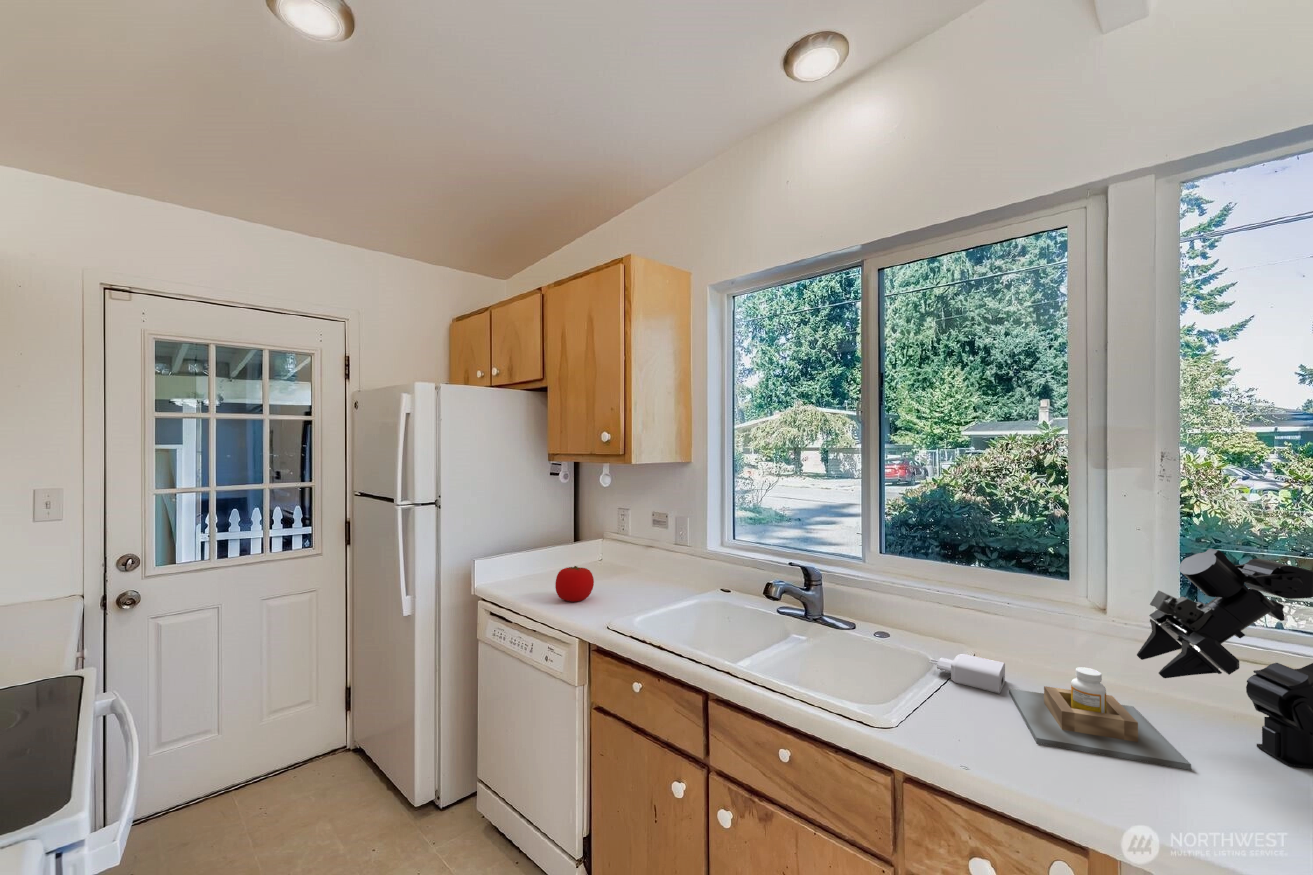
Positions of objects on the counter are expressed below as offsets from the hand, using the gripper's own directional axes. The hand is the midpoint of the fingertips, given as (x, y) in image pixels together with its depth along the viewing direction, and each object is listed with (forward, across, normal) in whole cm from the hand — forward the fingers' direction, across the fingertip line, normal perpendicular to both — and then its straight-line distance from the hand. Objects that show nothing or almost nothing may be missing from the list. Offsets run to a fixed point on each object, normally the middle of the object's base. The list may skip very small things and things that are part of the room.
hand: (1149, 666), depth 102 cm
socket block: (+16, -1, +3) cm, 16 cm away
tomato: (+113, -36, -93) cm, 151 cm away
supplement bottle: (+15, -1, +3) cm, 16 cm away
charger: (+30, -17, -10) cm, 36 cm away
